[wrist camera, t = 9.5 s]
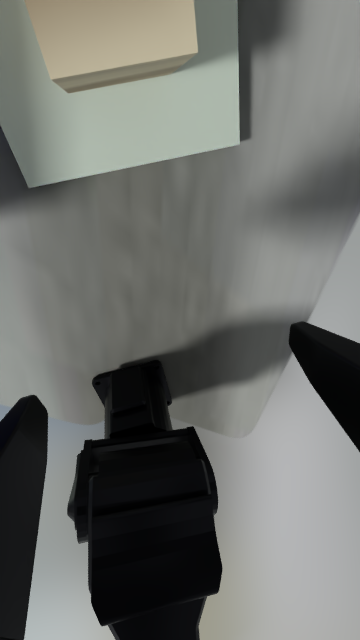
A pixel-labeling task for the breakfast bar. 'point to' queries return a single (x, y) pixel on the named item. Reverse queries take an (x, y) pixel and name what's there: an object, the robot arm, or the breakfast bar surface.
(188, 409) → the breakfast bar surface
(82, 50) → the maple block
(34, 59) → the sage pad
